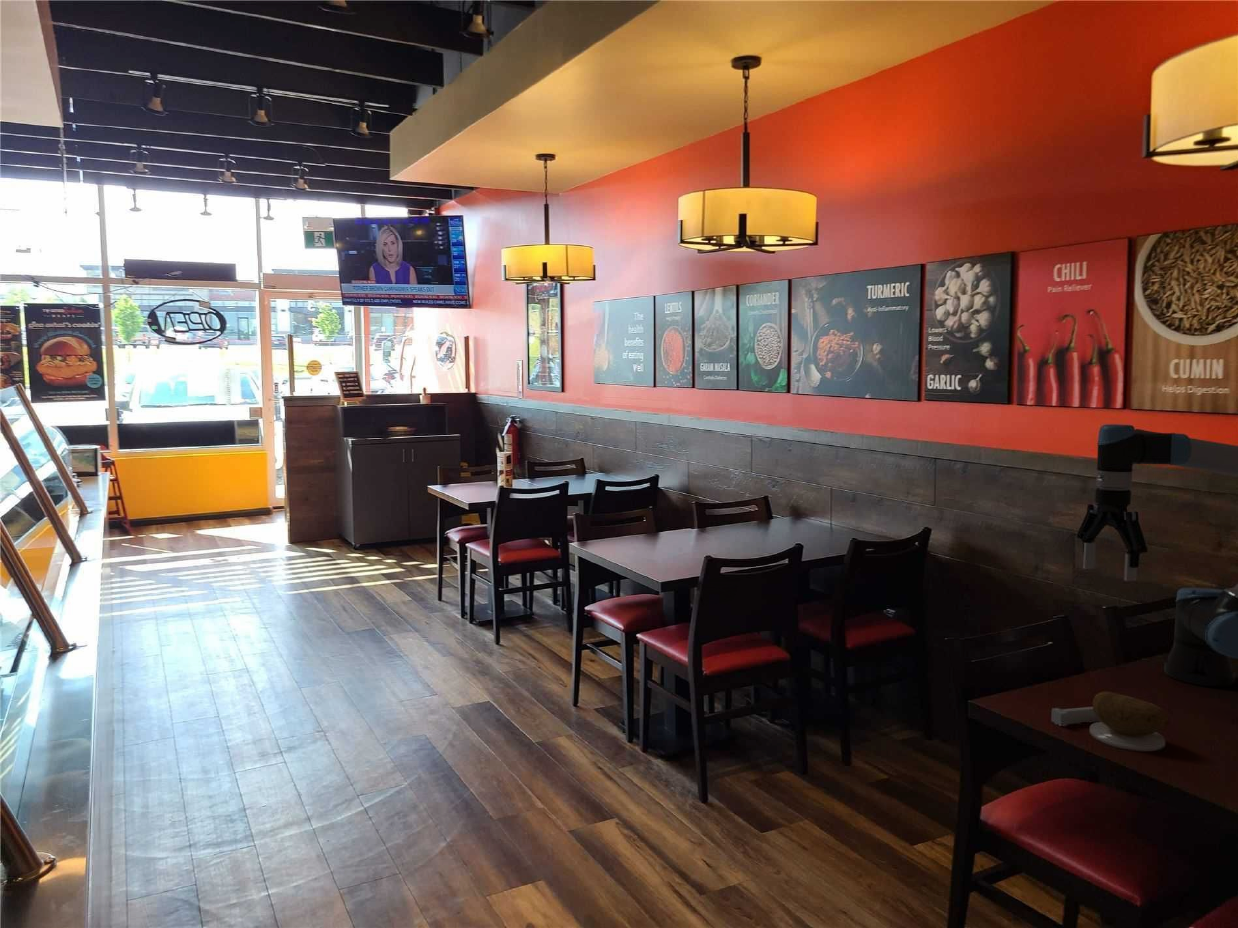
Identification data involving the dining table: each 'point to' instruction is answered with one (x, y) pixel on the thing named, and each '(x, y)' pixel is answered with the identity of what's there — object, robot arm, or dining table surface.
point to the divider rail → (1073, 716)
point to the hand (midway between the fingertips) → (1108, 574)
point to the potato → (1128, 714)
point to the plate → (1127, 739)
